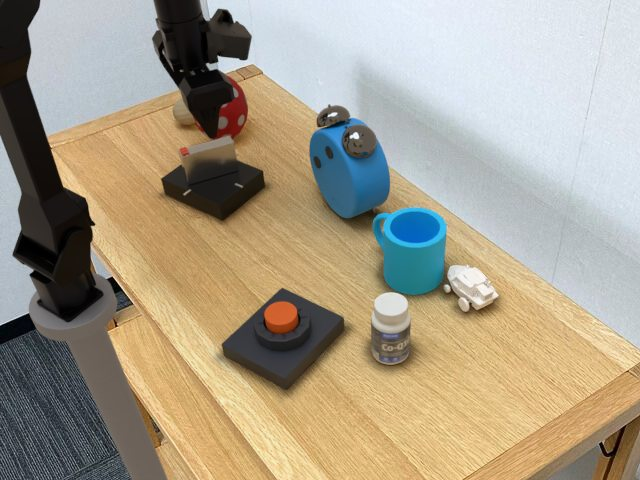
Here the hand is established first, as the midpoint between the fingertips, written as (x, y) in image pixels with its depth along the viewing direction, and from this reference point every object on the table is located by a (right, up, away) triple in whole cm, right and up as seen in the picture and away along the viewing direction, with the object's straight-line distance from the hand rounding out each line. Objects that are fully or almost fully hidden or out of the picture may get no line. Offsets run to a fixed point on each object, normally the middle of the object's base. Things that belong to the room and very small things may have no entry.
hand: (203, 121), depth 108 cm
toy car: (+37, -25, -8) cm, 45 cm away
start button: (+13, -29, -15) cm, 35 cm away
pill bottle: (+26, -33, -14) cm, 44 cm away
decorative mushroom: (-2, +5, +21) cm, 22 cm away
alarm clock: (+21, -11, +6) cm, 24 cm away
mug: (+28, -21, -4) cm, 36 cm away
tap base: (0, -8, +9) cm, 12 cm away
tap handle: (0, -6, +7) cm, 9 cm away
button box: (+13, -32, -12) cm, 36 cm away
